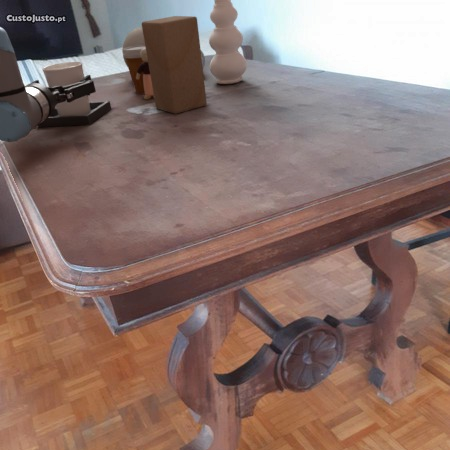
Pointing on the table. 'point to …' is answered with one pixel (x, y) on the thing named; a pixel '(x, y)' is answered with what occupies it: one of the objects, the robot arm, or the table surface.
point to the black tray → (78, 116)
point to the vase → (226, 44)
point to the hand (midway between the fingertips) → (64, 83)
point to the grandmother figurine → (145, 75)
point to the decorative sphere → (133, 39)
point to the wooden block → (175, 63)
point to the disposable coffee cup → (135, 66)
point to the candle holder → (63, 77)
